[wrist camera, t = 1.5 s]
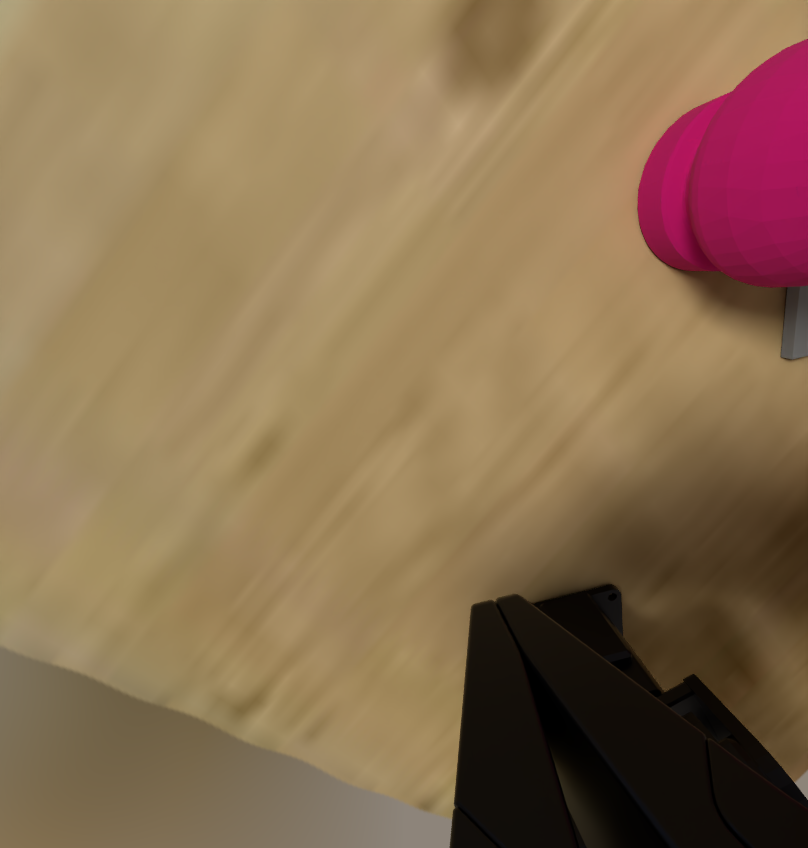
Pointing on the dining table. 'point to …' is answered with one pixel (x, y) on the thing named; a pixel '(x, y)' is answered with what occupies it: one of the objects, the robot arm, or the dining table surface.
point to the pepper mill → (736, 180)
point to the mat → (795, 323)
